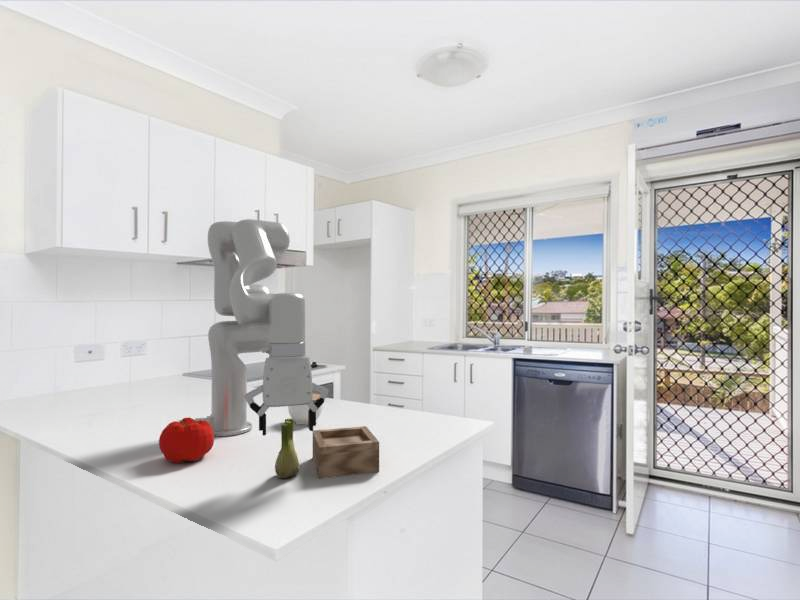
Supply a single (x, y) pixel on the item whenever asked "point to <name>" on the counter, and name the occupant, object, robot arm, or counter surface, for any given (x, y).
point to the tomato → (186, 440)
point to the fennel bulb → (287, 453)
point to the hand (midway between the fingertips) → (287, 431)
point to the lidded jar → (303, 411)
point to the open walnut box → (345, 451)
